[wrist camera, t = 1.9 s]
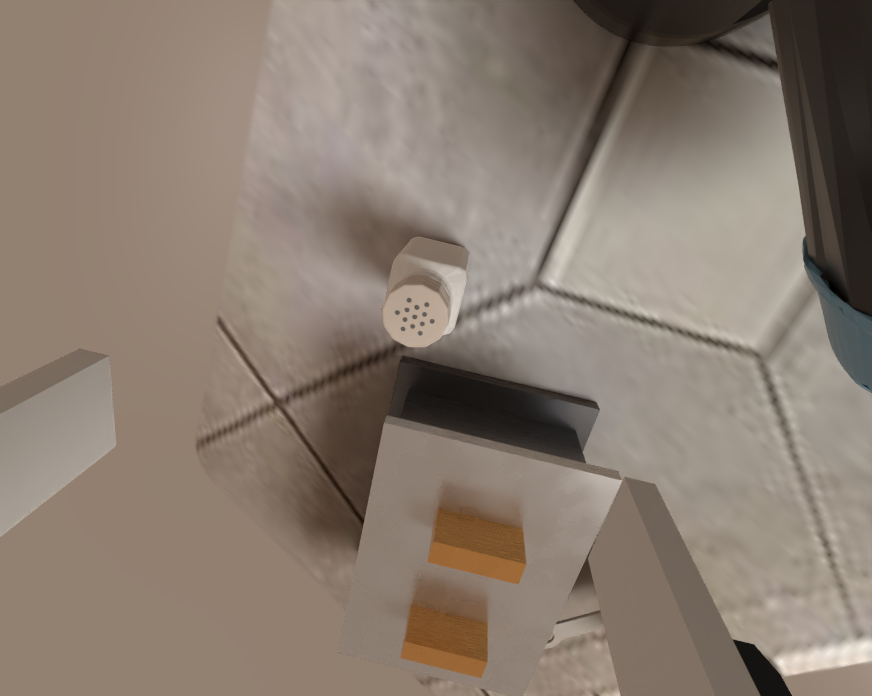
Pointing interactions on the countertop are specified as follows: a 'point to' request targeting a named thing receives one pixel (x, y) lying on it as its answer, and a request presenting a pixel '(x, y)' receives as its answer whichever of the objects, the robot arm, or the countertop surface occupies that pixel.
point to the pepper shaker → (425, 291)
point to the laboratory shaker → (473, 527)
